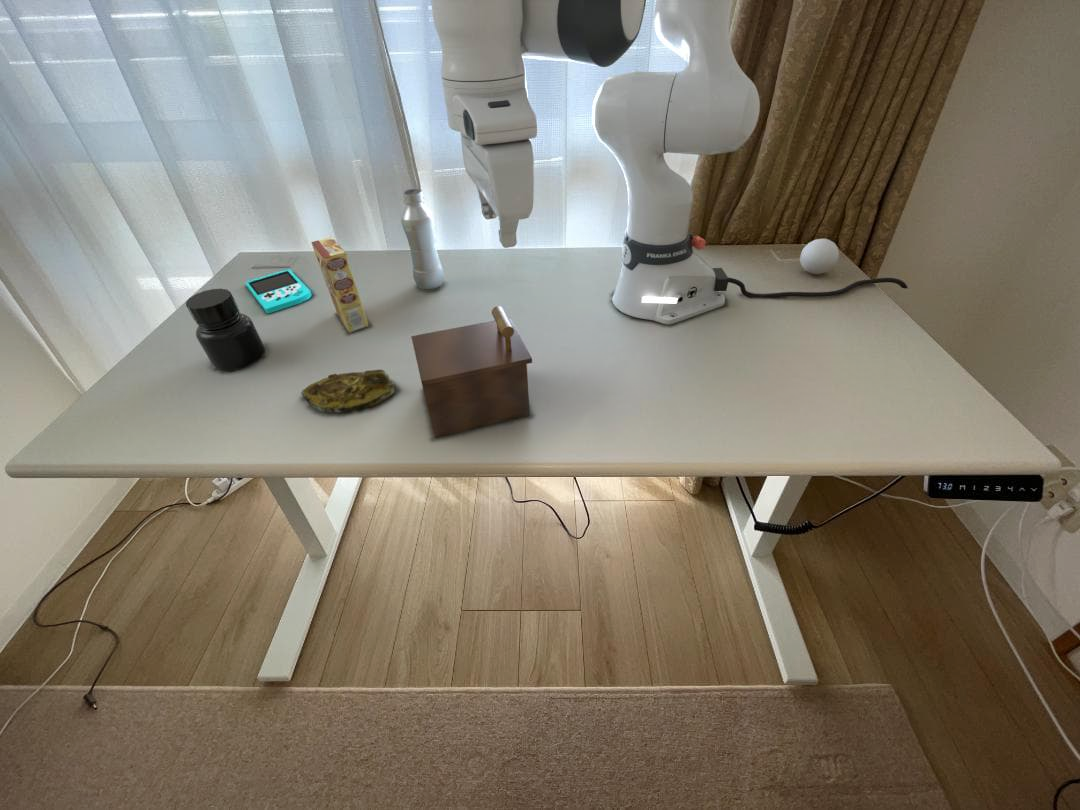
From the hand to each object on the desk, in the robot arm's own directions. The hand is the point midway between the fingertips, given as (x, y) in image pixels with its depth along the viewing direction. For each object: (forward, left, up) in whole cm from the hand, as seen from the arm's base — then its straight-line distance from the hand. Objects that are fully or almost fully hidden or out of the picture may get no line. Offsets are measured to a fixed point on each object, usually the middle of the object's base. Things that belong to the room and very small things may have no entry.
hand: (498, 230), depth 63 cm
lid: (+6, +1, -16) cm, 18 cm away
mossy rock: (+25, -8, -27) cm, 38 cm away
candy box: (+24, -32, -27) cm, 48 cm away
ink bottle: (+44, -26, -27) cm, 58 cm away
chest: (+6, +1, -26) cm, 27 cm away
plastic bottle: (+7, -41, -27) cm, 49 cm away
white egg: (-74, -18, -27) cm, 80 cm away
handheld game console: (+39, -50, -27) cm, 69 cm away
